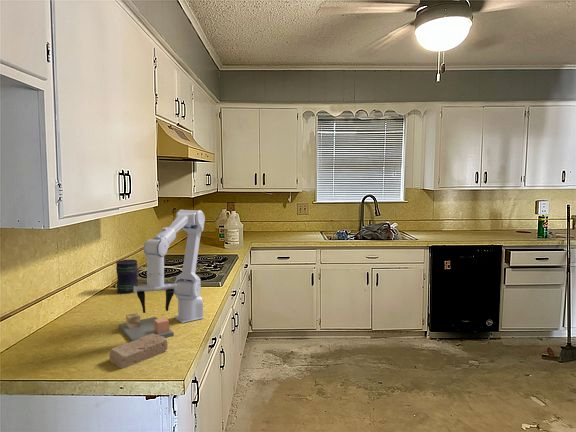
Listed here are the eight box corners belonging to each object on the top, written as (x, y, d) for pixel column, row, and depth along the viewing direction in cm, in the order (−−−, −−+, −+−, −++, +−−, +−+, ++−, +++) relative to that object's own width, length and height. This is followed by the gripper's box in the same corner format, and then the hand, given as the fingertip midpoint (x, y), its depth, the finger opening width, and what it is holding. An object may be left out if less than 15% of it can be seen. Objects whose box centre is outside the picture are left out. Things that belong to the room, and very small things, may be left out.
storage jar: (141, 291, 206) (140, 261, 204) (121, 295, 199) (120, 264, 198) (133, 287, 213) (132, 258, 212) (113, 290, 206) (112, 261, 205)
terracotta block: (165, 328, 154) (164, 317, 154) (169, 331, 151) (168, 320, 151) (154, 330, 152) (154, 319, 152) (158, 333, 149) (157, 322, 148)
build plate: (155, 319, 166) (155, 316, 166) (173, 335, 150) (173, 332, 150) (119, 327, 158) (118, 324, 158) (134, 344, 142) (133, 341, 142)
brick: (122, 370, 125) (122, 355, 124) (108, 362, 130) (107, 347, 129) (168, 351, 138) (168, 338, 137) (153, 345, 143) (153, 332, 142)
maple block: (137, 323, 159) (137, 313, 159) (140, 326, 156) (140, 315, 155) (126, 325, 157) (126, 315, 156) (129, 328, 154) (129, 318, 153)
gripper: (134, 276, 139) (134, 316, 140) (178, 274, 145) (178, 312, 146) (133, 272, 146) (133, 310, 147) (175, 270, 152) (175, 306, 152)
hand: (155, 311), depth 147 cm, fingers open, 7 cm apart
